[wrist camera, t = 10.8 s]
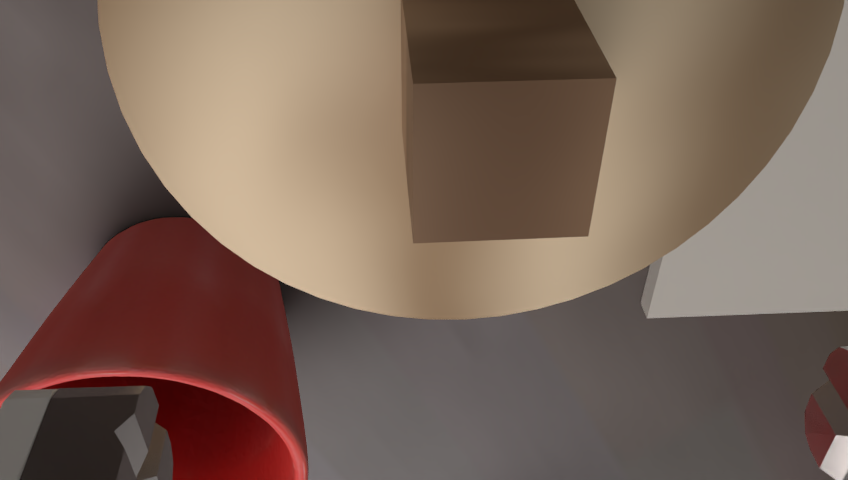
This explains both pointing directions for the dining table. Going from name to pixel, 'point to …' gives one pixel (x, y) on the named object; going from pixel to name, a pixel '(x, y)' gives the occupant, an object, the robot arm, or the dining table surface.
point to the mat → (774, 224)
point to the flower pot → (181, 349)
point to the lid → (460, 134)
